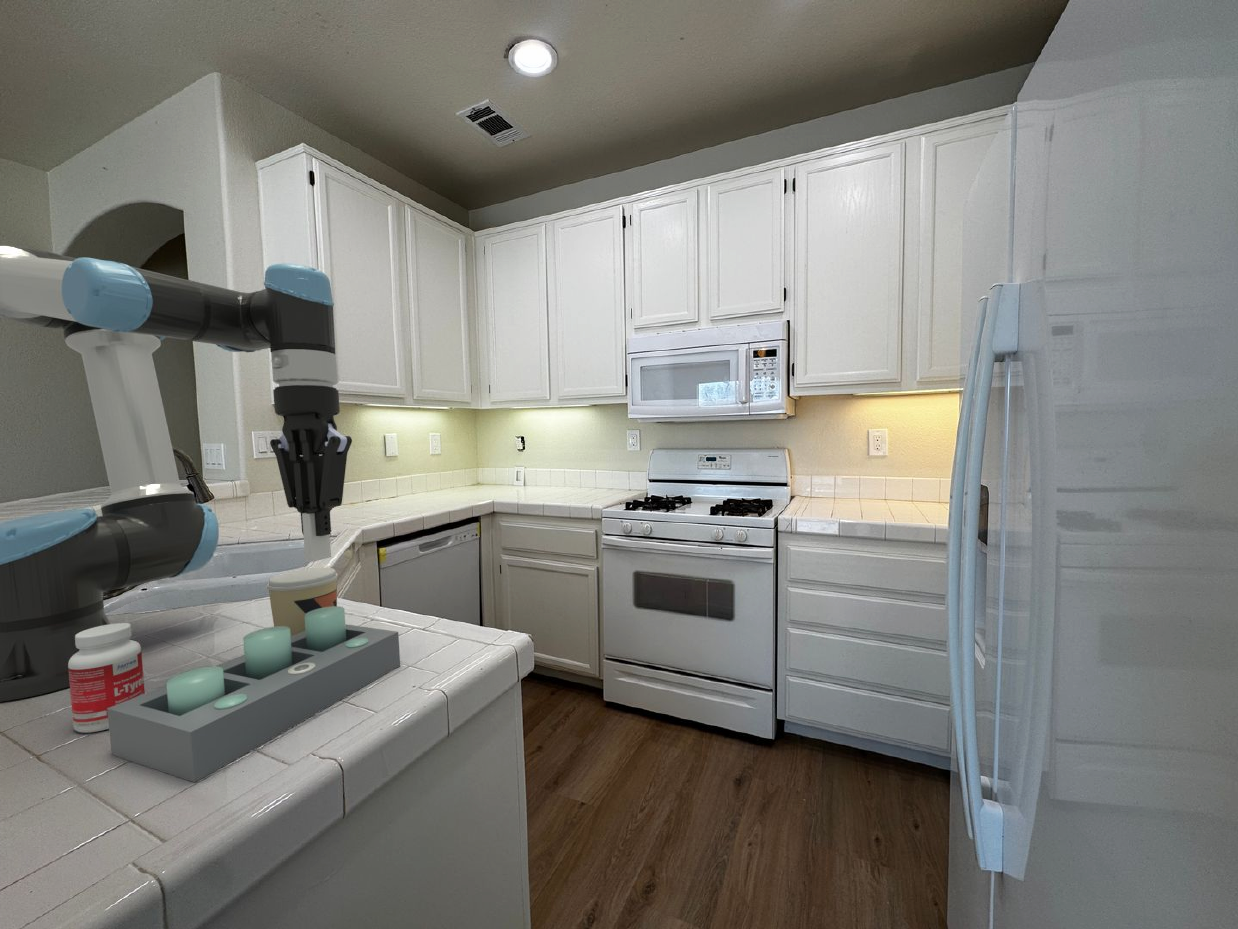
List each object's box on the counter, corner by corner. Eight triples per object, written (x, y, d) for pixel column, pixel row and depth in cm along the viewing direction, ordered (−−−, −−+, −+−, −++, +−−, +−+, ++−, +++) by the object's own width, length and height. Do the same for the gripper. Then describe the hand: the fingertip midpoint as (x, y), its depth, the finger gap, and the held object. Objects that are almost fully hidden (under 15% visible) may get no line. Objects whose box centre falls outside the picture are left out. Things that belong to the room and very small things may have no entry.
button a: (159, 728, 55) (155, 683, 55) (209, 705, 59) (205, 664, 59) (187, 736, 53) (183, 689, 53) (236, 712, 58) (232, 669, 57)
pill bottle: (123, 730, 59) (114, 636, 58) (58, 739, 57) (49, 642, 57) (158, 703, 65) (151, 617, 64) (100, 710, 63) (92, 623, 63)
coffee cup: (308, 664, 74) (302, 583, 74) (256, 660, 76) (251, 582, 76) (355, 639, 83) (350, 567, 83) (308, 636, 85) (303, 566, 85)
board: (111, 754, 54) (107, 706, 54) (329, 653, 78) (327, 620, 78) (194, 782, 49) (190, 730, 49) (400, 665, 73) (398, 630, 73)
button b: (236, 678, 62) (233, 638, 62) (275, 662, 67) (273, 624, 66) (263, 684, 61) (260, 643, 60) (301, 666, 65) (298, 628, 65)
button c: (298, 652, 70) (296, 616, 69) (329, 638, 74) (327, 605, 74) (324, 656, 68) (321, 619, 68) (354, 642, 72) (352, 608, 72)
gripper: (245, 387, 67) (259, 563, 69) (314, 379, 63) (327, 569, 64) (299, 391, 74) (310, 550, 76) (365, 384, 70) (376, 555, 71)
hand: (318, 559), depth 70 cm, fingers closed
